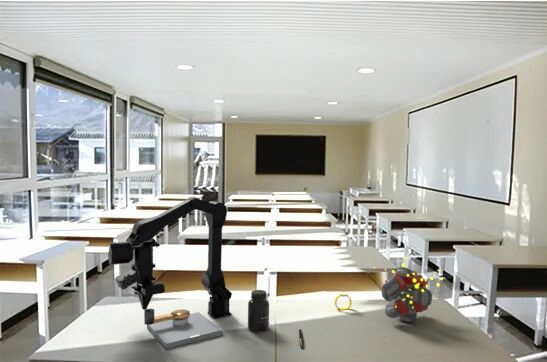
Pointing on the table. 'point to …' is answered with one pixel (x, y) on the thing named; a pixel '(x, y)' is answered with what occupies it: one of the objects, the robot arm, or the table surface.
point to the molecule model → (406, 294)
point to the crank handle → (164, 316)
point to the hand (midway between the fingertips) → (144, 309)
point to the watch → (343, 296)
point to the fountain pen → (301, 339)
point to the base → (184, 330)
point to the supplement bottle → (258, 311)
